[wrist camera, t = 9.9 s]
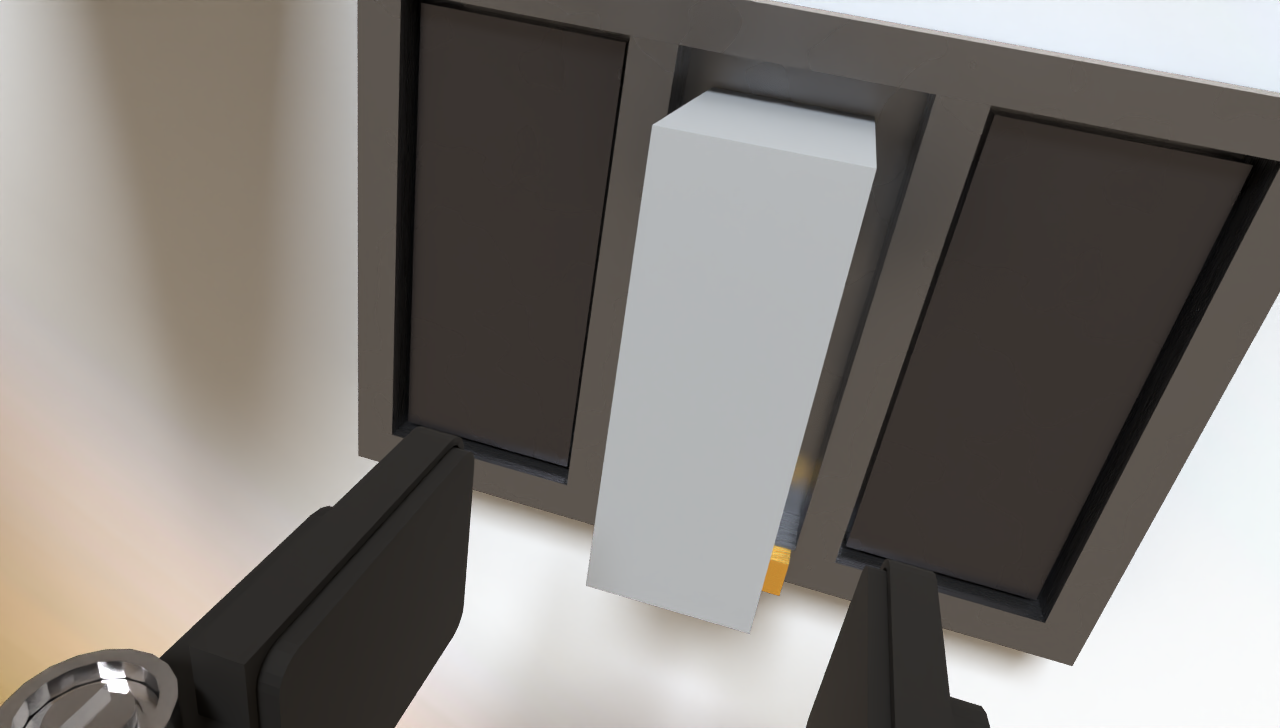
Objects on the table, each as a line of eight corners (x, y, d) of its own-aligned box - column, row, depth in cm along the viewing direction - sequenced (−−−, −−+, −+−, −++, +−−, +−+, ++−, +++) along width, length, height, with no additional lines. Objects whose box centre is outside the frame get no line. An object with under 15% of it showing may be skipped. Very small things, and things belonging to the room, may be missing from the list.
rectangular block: (712, 87, 18) (652, 124, 13) (874, 117, 17) (877, 168, 12) (648, 453, 22) (585, 585, 17) (777, 486, 21) (749, 633, 16)
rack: (413, -65, 19) (340, -74, 16) (1312, 98, 16) (1398, 120, 13) (400, 417, 24) (346, 466, 22) (1053, 602, 22) (1077, 685, 19)
